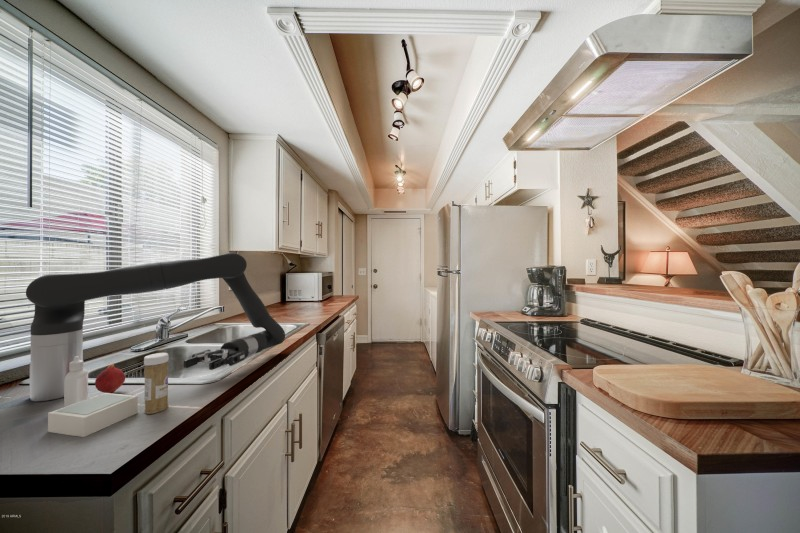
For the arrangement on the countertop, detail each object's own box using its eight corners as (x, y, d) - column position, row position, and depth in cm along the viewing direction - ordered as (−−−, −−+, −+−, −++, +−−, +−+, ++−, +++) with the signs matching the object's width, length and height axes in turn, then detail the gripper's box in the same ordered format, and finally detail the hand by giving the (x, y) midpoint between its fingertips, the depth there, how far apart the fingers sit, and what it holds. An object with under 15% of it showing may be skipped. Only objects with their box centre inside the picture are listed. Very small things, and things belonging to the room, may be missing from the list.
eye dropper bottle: (96, 398, 76) (96, 353, 76) (71, 408, 70) (71, 360, 70) (81, 398, 76) (81, 353, 76) (54, 408, 71) (54, 359, 71)
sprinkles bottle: (167, 411, 69) (167, 355, 69) (142, 416, 66) (142, 358, 66) (169, 403, 73) (169, 350, 73) (145, 408, 70) (145, 354, 70)
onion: (105, 399, 75) (105, 369, 75) (89, 397, 77) (89, 367, 77) (130, 390, 81) (130, 362, 81) (114, 388, 82) (114, 360, 82)
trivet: (47, 431, 60) (48, 412, 60) (105, 409, 70) (105, 392, 70) (84, 437, 58) (84, 416, 58) (137, 412, 68) (137, 395, 68)
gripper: (221, 337, 98) (176, 350, 82) (258, 339, 95) (218, 353, 79) (222, 359, 98) (176, 377, 82) (258, 361, 95) (218, 380, 79)
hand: (197, 365), depth 81 cm, fingers open, 8 cm apart
